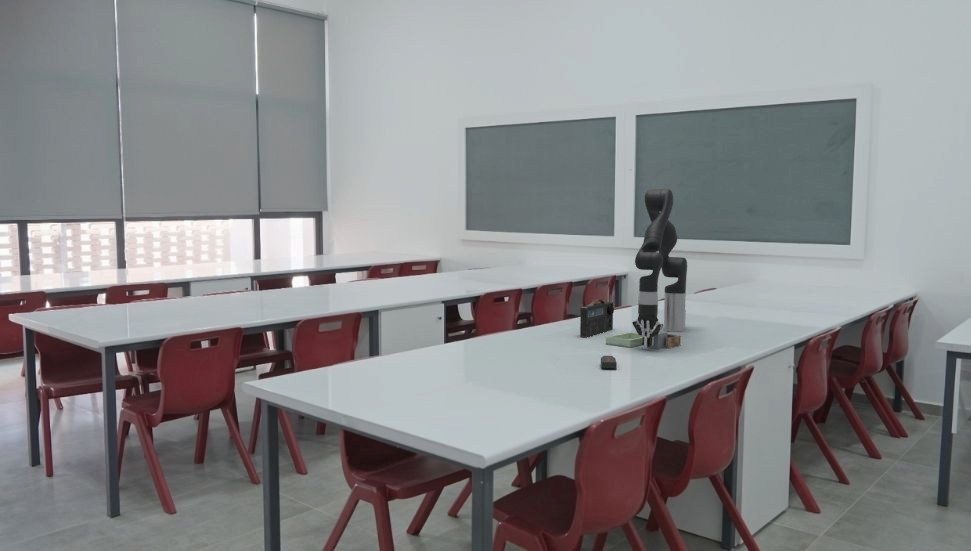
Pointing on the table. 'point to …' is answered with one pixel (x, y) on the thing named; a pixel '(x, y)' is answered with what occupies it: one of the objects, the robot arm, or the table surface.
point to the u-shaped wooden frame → (672, 340)
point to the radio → (596, 318)
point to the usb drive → (608, 362)
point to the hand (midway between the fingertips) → (647, 346)
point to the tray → (625, 340)
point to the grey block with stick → (657, 340)
